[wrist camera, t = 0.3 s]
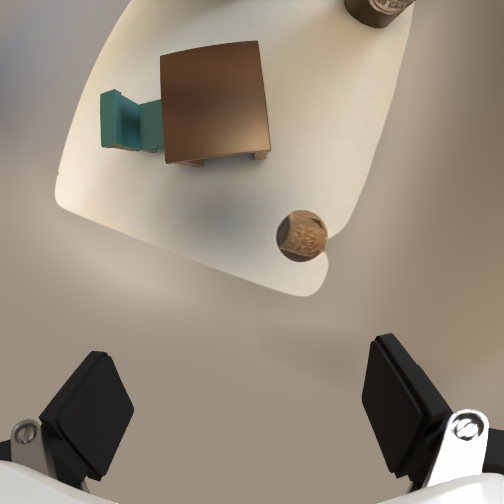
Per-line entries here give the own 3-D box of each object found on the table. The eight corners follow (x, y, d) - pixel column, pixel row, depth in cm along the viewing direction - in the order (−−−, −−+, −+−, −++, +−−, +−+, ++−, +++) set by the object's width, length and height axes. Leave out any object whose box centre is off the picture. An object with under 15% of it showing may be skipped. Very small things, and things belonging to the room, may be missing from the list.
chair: (147, 154, 36) (101, 147, 23) (145, 116, 34) (100, 93, 21) (205, 144, 35) (179, 128, 23) (201, 104, 34) (176, 71, 21)
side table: (186, 88, 33) (159, 55, 21) (257, 78, 33) (257, 40, 21) (193, 167, 36) (165, 163, 24) (266, 159, 36) (270, 150, 24)
